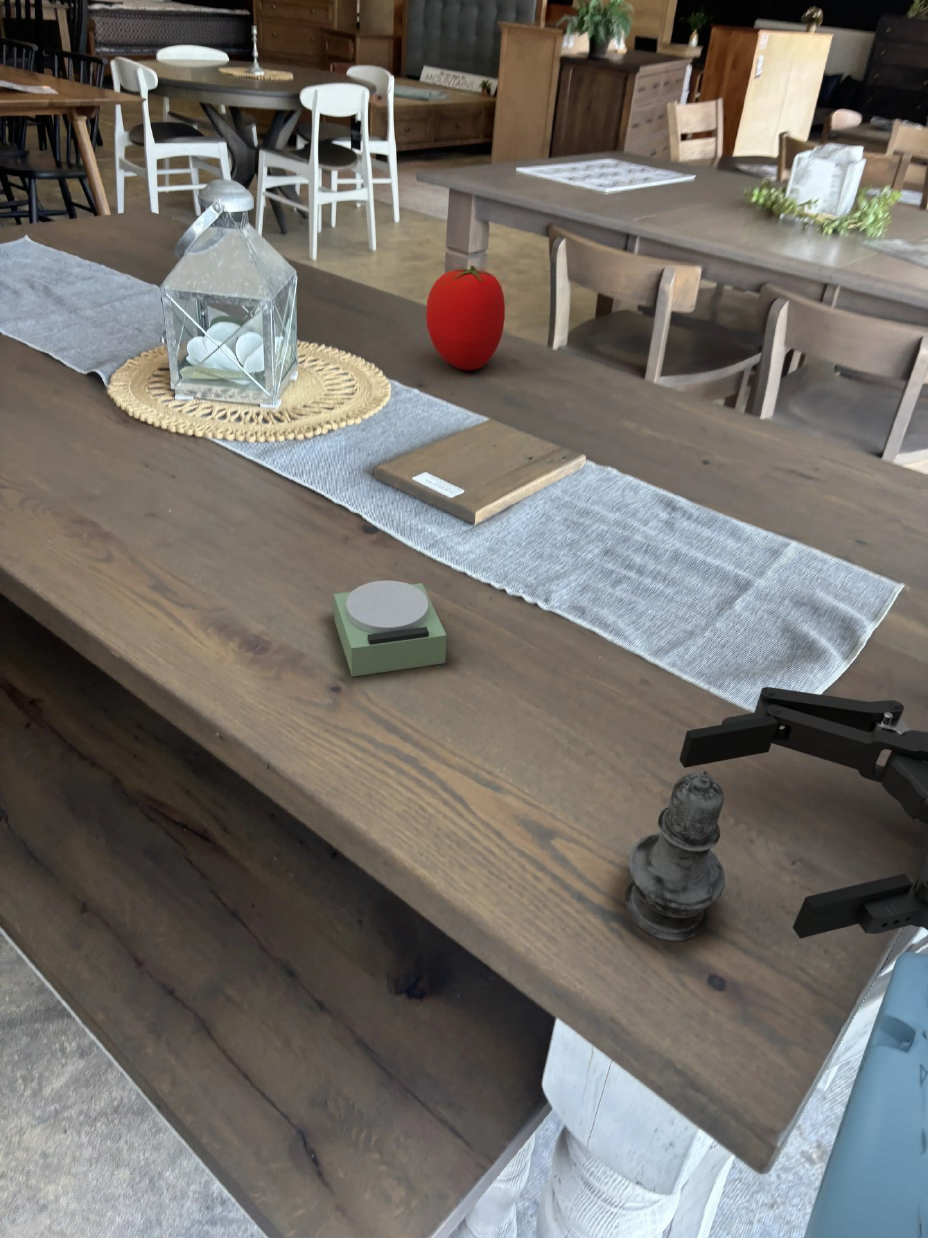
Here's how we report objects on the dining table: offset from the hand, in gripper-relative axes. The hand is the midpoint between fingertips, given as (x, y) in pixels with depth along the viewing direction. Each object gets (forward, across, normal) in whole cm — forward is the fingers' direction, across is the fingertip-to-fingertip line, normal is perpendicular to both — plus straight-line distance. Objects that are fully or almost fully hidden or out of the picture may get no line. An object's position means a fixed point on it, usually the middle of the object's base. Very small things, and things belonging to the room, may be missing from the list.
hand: (737, 826), depth 55 cm
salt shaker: (+4, 0, -7) cm, 8 cm away
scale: (+15, +31, -6) cm, 35 cm away
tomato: (-11, +95, -7) cm, 96 cm away
